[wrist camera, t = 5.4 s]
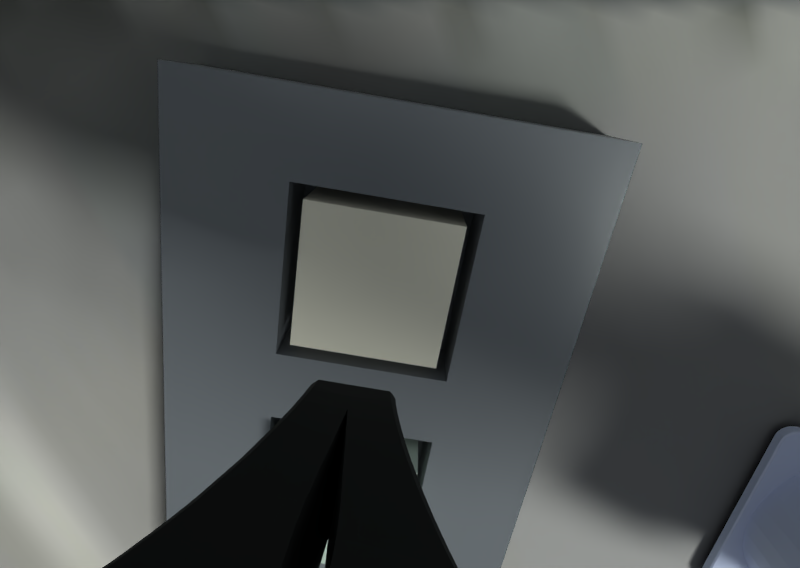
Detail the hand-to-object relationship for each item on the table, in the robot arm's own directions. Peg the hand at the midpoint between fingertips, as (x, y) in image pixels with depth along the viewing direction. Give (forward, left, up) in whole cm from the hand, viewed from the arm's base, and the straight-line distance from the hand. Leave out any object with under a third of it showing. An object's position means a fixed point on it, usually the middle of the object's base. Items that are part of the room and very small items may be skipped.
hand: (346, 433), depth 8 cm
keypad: (0, +7, -8) cm, 11 cm away
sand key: (0, 0, -8) cm, 8 cm away
